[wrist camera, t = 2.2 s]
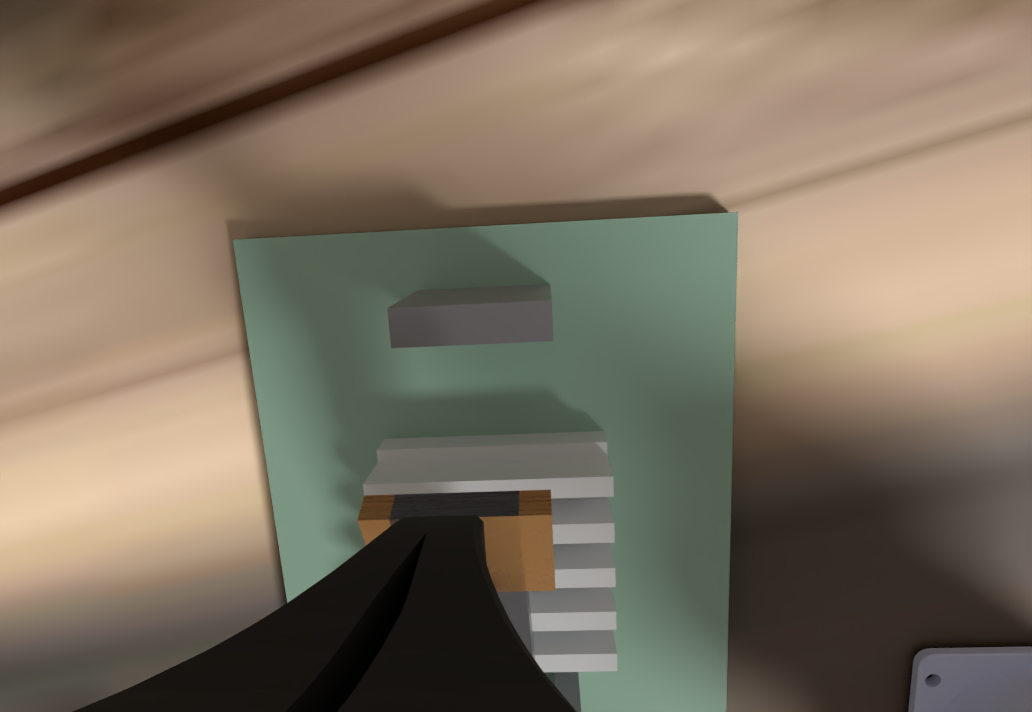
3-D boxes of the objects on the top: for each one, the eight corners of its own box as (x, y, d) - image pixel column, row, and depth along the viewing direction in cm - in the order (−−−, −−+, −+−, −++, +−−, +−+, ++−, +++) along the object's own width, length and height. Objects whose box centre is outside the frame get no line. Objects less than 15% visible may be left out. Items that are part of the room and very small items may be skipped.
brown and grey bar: (563, 744, 20) (566, 810, 18) (452, 745, 20) (446, 811, 19) (549, 466, 12) (552, 542, 11) (370, 472, 12) (349, 548, 11)
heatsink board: (718, 764, 23) (763, 905, 18) (322, 767, 24) (267, 902, 19) (729, 212, 18) (793, 209, 14) (245, 239, 19) (150, 245, 15)
